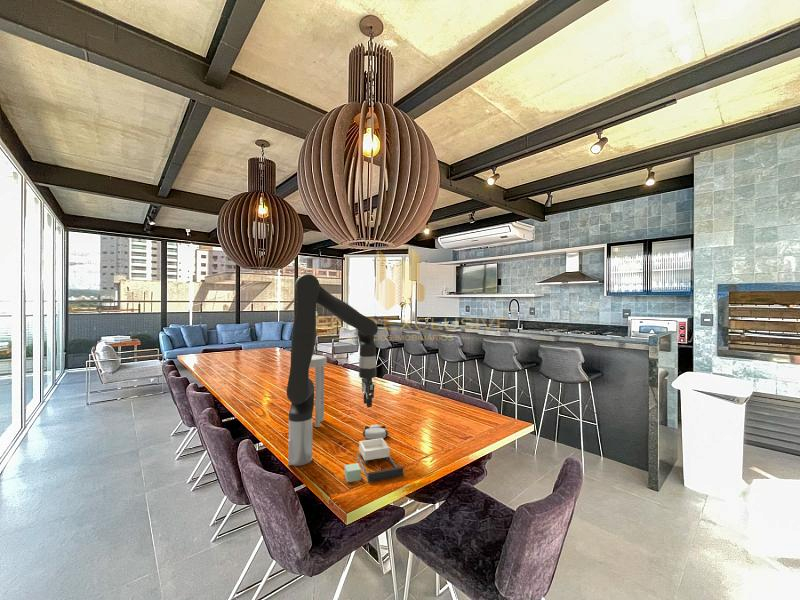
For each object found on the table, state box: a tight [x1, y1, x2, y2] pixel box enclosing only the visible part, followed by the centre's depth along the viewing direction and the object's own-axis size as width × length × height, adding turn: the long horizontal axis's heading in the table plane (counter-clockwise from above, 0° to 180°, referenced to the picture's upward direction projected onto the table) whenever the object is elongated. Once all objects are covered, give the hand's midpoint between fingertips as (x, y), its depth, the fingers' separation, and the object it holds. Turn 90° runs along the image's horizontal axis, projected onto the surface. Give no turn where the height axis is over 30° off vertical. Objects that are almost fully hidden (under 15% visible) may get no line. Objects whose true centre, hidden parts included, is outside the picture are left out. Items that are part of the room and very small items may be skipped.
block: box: [344, 462, 362, 483], centre depth 119 cm, size 5×5×5 cm
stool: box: [309, 354, 328, 428], centre depth 176 cm, size 16×16×35 cm
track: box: [355, 453, 404, 483], centre depth 129 cm, size 13×22×4 cm, turn 19°
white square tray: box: [358, 438, 391, 465], centre depth 134 cm, size 10×10×6 cm
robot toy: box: [361, 424, 389, 440], centre depth 159 cm, size 12×4×15 cm
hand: (367, 404), depth 145 cm, fingers open, 5 cm apart
